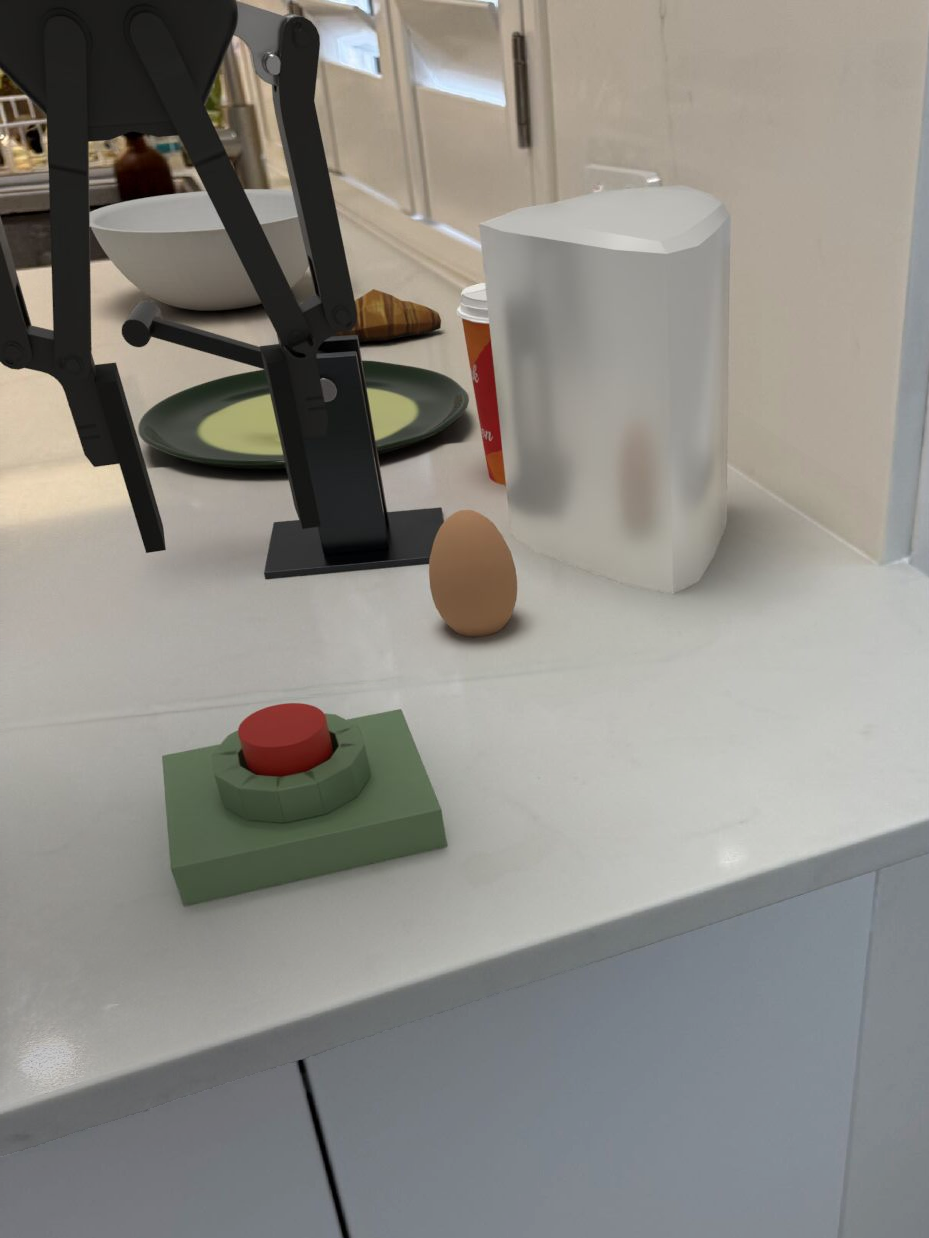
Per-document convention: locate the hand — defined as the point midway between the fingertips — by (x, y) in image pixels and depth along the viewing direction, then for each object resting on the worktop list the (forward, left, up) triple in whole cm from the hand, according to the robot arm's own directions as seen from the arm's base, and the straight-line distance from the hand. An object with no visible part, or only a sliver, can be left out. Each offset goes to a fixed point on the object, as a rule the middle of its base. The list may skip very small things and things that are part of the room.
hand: (232, 526), depth 50 cm
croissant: (-28, +87, -15) cm, 93 cm away
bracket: (-9, +31, -15) cm, 35 cm away
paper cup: (-1, +46, -15) cm, 48 cm away
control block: (0, 0, -15) cm, 15 cm away
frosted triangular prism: (+11, +35, -15) cm, 40 cm away
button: (0, 0, -11) cm, 11 cm away
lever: (-14, +29, -2) cm, 32 cm away
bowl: (-53, +102, -15) cm, 116 cm away
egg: (+3, +20, -15) cm, 25 cm away
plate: (-23, +56, -15) cm, 62 cm away
